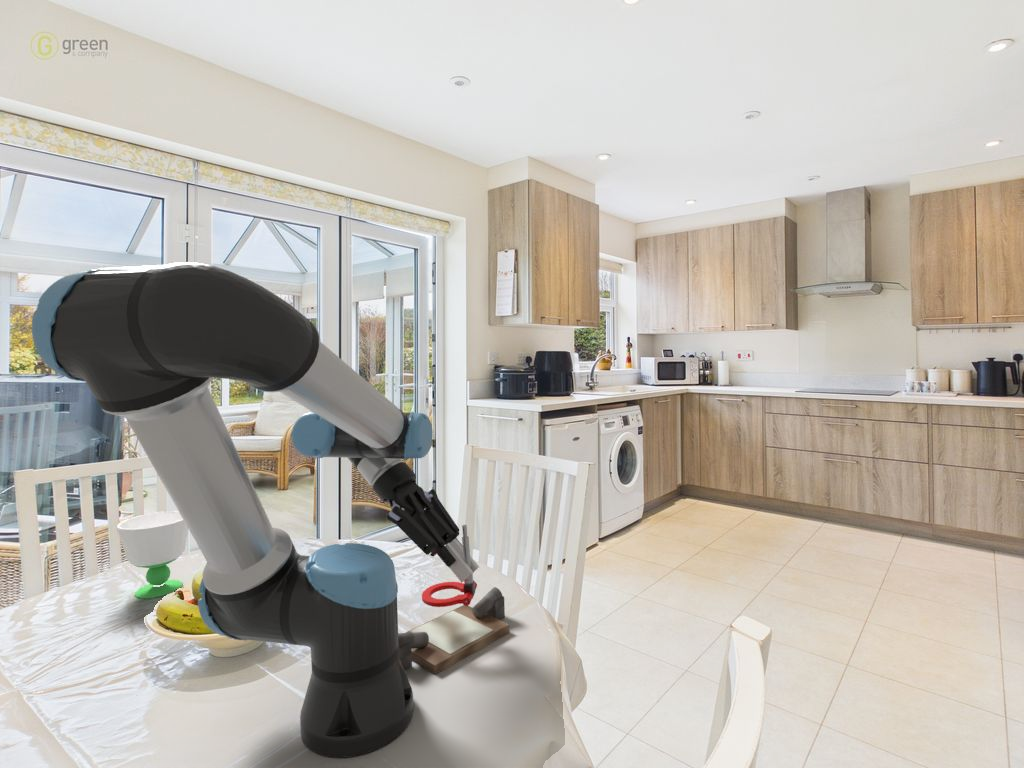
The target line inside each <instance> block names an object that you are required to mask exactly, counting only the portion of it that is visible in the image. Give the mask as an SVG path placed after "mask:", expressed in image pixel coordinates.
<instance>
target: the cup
mask: <svg viewBox="0 0 1024 768" xmlns="http://www.w3.org/2000/svg"><path fill="white" fill-rule="evenodd" d="M165 511H166V513H165V512H164V511H157V512H151V513H145V514H142V515H141V514H140V515H137V516H133V517H130V518H127V519H124V520H122V521H121V522H119V523H118V524H117V526H116V530H117V533H118V536H119V539H120V542H121V545H122V547H123V551H124V554H125V556H126V557H125V558H126V560H127V562H129V563H130V565H132V566H135V567H137V568H144V569H147V571H146V575H145V579H146V582H147V583H149V584H146V585H144V586H141V587H139V589H137V590H136V591H134V597H136V598H138V599H145V600H146V599H154V598H160V597H164V596H168V595H169V594H173V593H174V591H175V590H176V589H178V588H180V589H181V588H182V587H183V586H184V585H183V584H184V583H183V581H181V580H179V579H177V580H175V579H169V578H170V577H171V569H170V567H169V566H168V564H171V563H173V562H174V561H176V560H177V559H179V557H181V556H182V555H183V553H184V552H185V550H186V545H187V544H186V543H187V538H188V532H189V529H188V527H187V525H186V523H185V522H184V520H183V518H182V516H181V515H180V513H179V511H178V510H165ZM163 583H165V584H164V585H163V586H160V587H153V585H161V584H163ZM175 592H176V591H175Z"/></svg>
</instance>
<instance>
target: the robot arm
mask: <svg viewBox="0 0 1024 768" xmlns="http://www.w3.org/2000/svg"><path fill="white" fill-rule="evenodd" d="M32 314H33V315H32V318H31V336H32V340H33V344H34V347H35V349H36V351H37V353H38V355H39V357H40V358H41V360H42V361H43V362H44V363H45V365H46V366H47V367H48V368H50V369H51V370H53V372H55V373H56V374H58V375H60V376H63V377H66V378H68V379H70V380H74V381H77V382H78V381H80V382H84V383H85V384H86V385H87V387H88V389H89V390H90V392H91V394H92V395H93V397H94V399H95V400H96V402H97V404H98V406H99V407H100V409H101V410H102V411H103V412H104V413H106V414H109V415H114V416H116V417H121V418H124V419H126V420H127V423H128V425H130V428H131V430H132V431H133V433H134V435H135V437H136V438H137V440H138V442H139V444H140V445H141V447H142V449H143V450H144V452H145V454H146V456H147V458H148V460H149V461H150V463H151V465H152V467H153V469H154V470H155V472H156V474H157V475H158V477H159V479H160V481H161V483H162V484H163V487H164V488H165V489H166V491H167V494H168V495H169V497H170V498H171V500H172V502H173V503H174V505H175V507H176V509H177V511H179V513H180V515H181V516H182V518H183V520H184V522H185V523H186V525H187V527H188V532H190V534H191V535H192V537H193V539H194V541H195V543H196V545H197V546H198V549H199V550H200V552H201V553H202V555H203V557H204V559H205V561H206V564H205V565H204V568H203V571H202V578H201V581H200V583H199V586H198V593H199V594H200V595H201V598H199V599H198V601H197V607H198V612H199V615H200V618H201V619H202V622H203V623H204V624H205V626H206V627H207V628H208V629H209V630H211V631H212V632H213V633H214V634H217V635H219V636H224V637H227V638H228V639H232V640H233V639H234V640H237V641H255V642H265V643H272V644H273V643H274V644H285V645H286V644H287V645H294V646H304V647H309V648H310V659H311V674H310V678H309V682H308V685H307V688H306V692H305V696H304V698H303V704H302V706H301V710H300V715H299V720H300V721H299V722H300V725H299V726H300V736H301V740H302V742H303V744H304V745H305V746H306V747H307V748H308V749H309V750H311V751H313V752H314V753H317V754H319V755H322V756H325V757H329V758H347V757H348V758H349V757H355V756H359V755H363V754H367V753H370V752H373V751H376V750H378V749H380V748H382V747H384V746H386V745H388V744H389V743H391V742H392V741H394V740H396V739H397V738H398V736H400V735H401V734H402V733H404V731H405V730H406V729H407V727H408V726H409V725H410V723H411V721H412V718H413V715H414V708H415V707H414V693H413V687H412V686H411V683H410V681H409V678H408V676H407V672H406V670H404V668H403V665H402V663H401V660H400V658H399V645H398V633H399V619H398V614H399V613H398V591H399V590H398V589H399V586H398V582H397V575H396V568H395V563H394V562H393V559H391V557H390V555H388V553H387V552H385V551H384V550H382V549H380V548H379V547H376V546H374V545H369V544H364V543H357V542H347V543H344V544H339V543H335V544H329V545H326V546H322V547H320V548H318V549H316V550H314V551H313V552H312V553H310V555H301V554H300V553H298V551H297V549H296V547H295V545H294V543H293V541H292V539H291V537H290V534H288V532H287V531H285V530H283V529H281V528H279V527H278V528H277V527H273V525H272V523H271V522H270V519H269V517H268V514H267V513H266V511H265V508H264V507H263V504H262V502H261V499H260V497H259V496H258V493H257V491H256V489H255V486H254V485H253V482H252V480H251V477H250V475H249V474H248V471H247V469H246V467H245V465H244V463H243V461H242V458H241V456H240V454H239V452H238V450H237V448H236V446H235V443H234V442H233V439H232V437H231V435H230V432H229V431H228V428H227V426H226V424H225V422H224V420H223V418H222V415H221V414H220V411H219V409H218V407H217V404H216V403H215V399H214V398H213V396H212V394H211V392H210V389H209V385H210V384H211V382H212V380H213V378H216V379H226V380H232V381H233V380H234V381H238V382H242V383H246V384H248V385H249V386H251V387H253V388H255V390H258V391H261V392H264V393H278V392H279V393H280V394H283V395H284V396H286V397H288V398H289V399H291V400H293V401H294V402H296V403H297V404H299V405H301V407H302V406H303V407H304V408H305V409H307V410H309V411H310V412H306V413H304V414H301V416H299V417H298V419H297V420H296V421H295V422H294V424H293V426H292V430H291V442H292V446H293V447H294V449H295V450H296V451H297V453H299V454H300V455H302V456H303V457H306V458H314V459H323V458H347V459H348V461H350V463H351V464H352V466H353V467H355V469H356V470H357V471H358V472H359V473H360V475H361V476H362V477H363V479H364V480H365V481H366V482H367V483H368V485H369V486H372V490H373V491H374V493H375V494H376V496H377V497H378V498H379V499H380V500H381V502H383V503H388V504H389V506H390V508H391V510H390V511H389V512H388V514H387V515H386V519H387V520H388V521H390V522H392V523H393V524H394V525H396V526H397V527H398V528H399V529H400V530H401V531H402V532H404V534H405V535H406V537H408V538H409V539H410V540H411V541H412V542H413V543H414V544H415V545H416V547H418V548H419V550H421V551H422V552H423V553H424V554H425V555H429V556H430V557H435V556H436V555H437V556H438V557H439V558H440V559H441V561H442V562H443V563H444V565H446V567H448V568H449V569H450V570H451V572H452V573H453V574H454V575H455V577H457V579H458V580H459V582H460V583H464V581H465V580H466V579H467V578H468V577H469V576H470V575H471V574H472V573H473V574H474V573H475V572H476V571H477V570H478V569H479V568H480V565H478V563H477V562H476V561H475V559H474V558H473V557H472V556H471V555H470V560H471V567H472V570H473V571H472V570H471V569H470V567H469V566H468V565H467V564H466V562H465V561H464V557H463V545H462V543H461V542H460V541H459V539H458V536H459V535H460V528H459V527H458V525H457V524H456V522H455V521H454V519H453V518H452V516H451V515H450V513H449V512H448V511H447V509H446V507H444V505H443V503H442V502H441V501H440V499H439V497H438V494H437V491H436V490H434V489H430V490H429V491H426V490H424V489H423V488H422V486H419V484H417V482H416V478H417V475H416V473H415V472H414V471H413V469H412V468H411V467H410V466H409V464H408V463H407V462H404V461H405V460H408V459H411V460H412V459H422V458H425V457H426V456H427V455H428V454H429V452H430V450H431V448H432V443H433V437H434V436H433V434H434V433H433V425H432V422H431V419H430V417H429V416H428V415H427V414H425V413H421V412H414V411H411V412H404V411H402V410H401V409H400V408H399V407H398V406H397V405H395V404H394V403H393V402H392V401H390V400H389V399H388V398H387V397H386V396H385V395H384V394H382V392H380V391H379V390H378V389H376V387H374V386H373V385H372V384H371V383H370V382H368V381H367V380H366V379H365V378H364V377H362V376H361V374H359V373H358V372H357V371H356V370H355V369H353V368H352V367H351V366H350V365H349V364H347V363H346V362H345V361H344V360H343V359H342V358H341V357H339V356H338V355H337V354H336V353H334V352H333V350H331V349H330V348H328V346H326V344H324V343H323V342H322V341H321V336H320V333H319V330H318V329H317V326H316V325H315V324H314V323H313V322H312V321H310V320H309V319H308V318H307V317H306V316H305V315H304V314H303V313H301V312H300V311H299V310H298V309H297V308H295V307H294V306H293V305H292V304H290V303H289V302H287V301H286V300H284V299H283V298H281V297H280V296H278V295H277V294H276V293H274V292H272V291H270V290H269V289H267V288H265V287H264V286H262V285H260V284H258V283H256V282H254V281H253V280H250V279H248V278H246V277H245V276H242V275H240V274H238V273H236V272H233V271H231V270H228V269H224V268H221V267H219V266H216V265H212V264H205V263H201V262H200V263H199V262H192V261H191V262H189V261H187V262H186V261H185V262H173V263H167V264H156V265H141V266H122V267H114V266H113V267H112V266H103V267H99V268H96V269H89V270H84V271H79V272H75V273H72V274H68V275H65V276H63V277H61V278H60V279H57V280H56V281H54V282H53V283H52V284H51V285H49V286H48V287H47V288H46V290H44V292H43V293H42V294H41V296H40V298H39V299H38V304H37V307H36V310H35V311H33V313H32ZM403 460H404V461H403Z"/></svg>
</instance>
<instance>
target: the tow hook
mask: <svg viewBox="0 0 1024 768" xmlns="http://www.w3.org/2000/svg"><path fill="white" fill-rule="evenodd" d="M467 526H468V525H467V524H463V525H461V527H462V537H461V541H462V543H461V544H462V546H463V557H464V561H465V562H466V564H467V565H468V566H469V567H470V569H471V570H472V567H471V560H470V556H471V548H470V539H469V537H470V536H469V535H468V527H467ZM472 571H473V570H472ZM477 587H478V584H477V582H476V581H475V580H474V573H472V574H471V575H470V576H469V577H468V578H467V579H466V580H465V581H463V582H461V581H446V582H439V583H435V584H433V585H431V586H428V587H427V588H426V589H425V590H423V592H422V593H421V602H423V604H426V605H427V606H430V607H435V608H445V607H451V606H455V605H458V604H459V605H461V604H462V606H463V605H465V606H470V604H471V601H472V600H473V599H474V596H475V593H476V590H477ZM443 590H456V591H459V592H461V593H462V594H457V595H455V596H453V597H448V598H435V597H433V596H432V595H433V594H434V593H437V592H440V591H443Z"/></svg>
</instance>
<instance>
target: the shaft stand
mask: <svg viewBox="0 0 1024 768" xmlns="http://www.w3.org/2000/svg"><path fill="white" fill-rule="evenodd" d="M505 610H506V608H505V596H503V593H502V591H501V590H500V589H499V588H498V587H496V586H494V587H492V588H491V589H490V590H489V591H488V592H487V593H486V594H485V595H484V596H483V597H482V598H481V599H480V600H479V601H478V602H477V603H476V604H475V605H474V606H472V607H471V606H470V605H468V606H465V605H463V604H462V605H461V606H459V607H456V608H454V609H452V610H450V611H447V612H445V613H444V614H441V615H439V616H438V617H436V618H432V619H430V620H429V621H426V622H425V623H423V624H421V625H418V626H417V627H414V628H412V629H410V630H408V631H405V632H398V645H399V658H400V660H401V663H402V665H403V668H404V670H405V671H407V670H408V669H410V668H412V667H413V662H414V663H415V664H417V665H419V666H420V667H422V668H423V669H426V670H427V671H429V672H430V673H432V674H434V675H437V674H439V673H440V672H443V671H444V670H446V669H447V668H449V667H451V666H452V665H455V664H456V663H459V662H460V661H462V660H464V659H465V658H467V657H469V656H470V655H472V654H474V653H476V652H478V651H479V650H481V649H483V648H485V647H486V646H488V645H489V644H492V643H493V642H495V641H497V640H499V639H501V638H502V637H504V636H505V635H507V634H509V633H510V632H511V631H510V624H509V623H508V622H505V621H502V619H504V618H505V616H506V614H505V612H506V611H505Z"/></svg>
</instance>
